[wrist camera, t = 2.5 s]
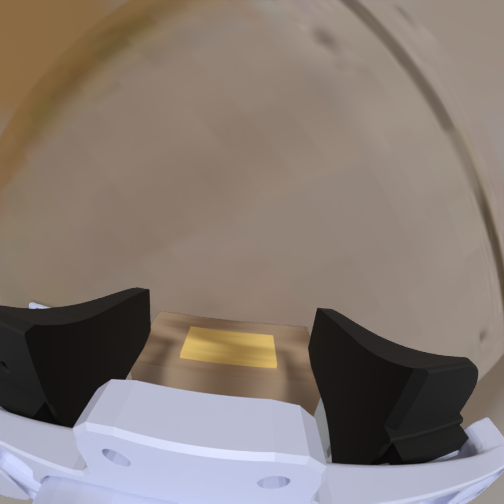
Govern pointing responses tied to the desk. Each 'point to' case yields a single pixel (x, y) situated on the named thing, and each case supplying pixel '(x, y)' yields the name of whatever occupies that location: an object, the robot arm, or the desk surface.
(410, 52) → the desk surface
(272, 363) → the lamp housing
